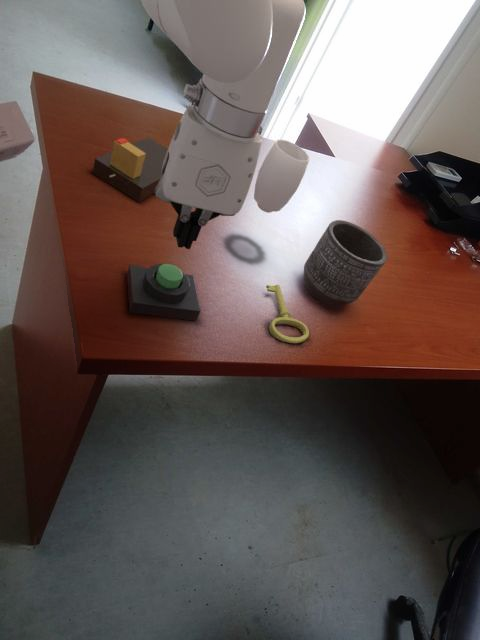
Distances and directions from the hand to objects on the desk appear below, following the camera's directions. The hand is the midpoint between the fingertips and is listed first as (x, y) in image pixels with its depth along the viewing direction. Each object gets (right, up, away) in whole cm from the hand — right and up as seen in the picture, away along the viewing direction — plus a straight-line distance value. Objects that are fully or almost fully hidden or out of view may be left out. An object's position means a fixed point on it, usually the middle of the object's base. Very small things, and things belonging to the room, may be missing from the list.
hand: (182, 241), depth 63 cm
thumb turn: (-14, +18, +20) cm, 31 cm away
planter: (+23, -4, +27) cm, 36 cm away
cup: (+7, +5, +26) cm, 27 cm away
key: (+14, -10, +16) cm, 24 cm away
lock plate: (-13, +19, +27) cm, 35 cm away
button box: (-5, -7, +7) cm, 11 cm away
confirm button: (-3, -5, +5) cm, 7 cm away
